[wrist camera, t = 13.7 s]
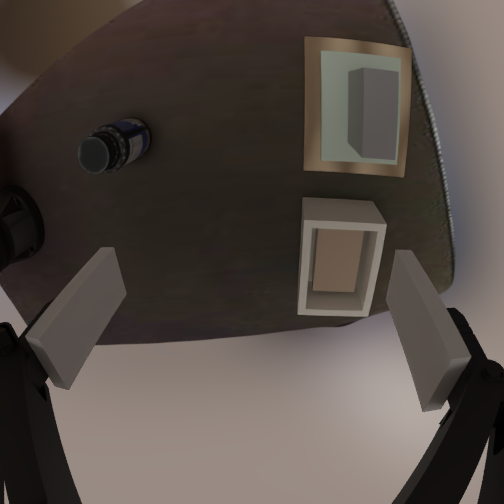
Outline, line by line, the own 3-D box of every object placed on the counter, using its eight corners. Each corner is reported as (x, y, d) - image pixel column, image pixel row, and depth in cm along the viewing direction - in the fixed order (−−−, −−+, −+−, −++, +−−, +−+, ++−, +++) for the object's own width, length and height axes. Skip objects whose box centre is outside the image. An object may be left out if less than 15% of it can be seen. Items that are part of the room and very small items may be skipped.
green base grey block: (320, 157, 41) (328, 180, 31) (319, 52, 34) (328, 40, 24) (392, 161, 39) (421, 186, 30) (396, 59, 33) (428, 53, 23)
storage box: (297, 282, 51) (297, 314, 44) (302, 197, 44) (303, 219, 37) (359, 284, 50) (367, 316, 43) (372, 200, 43) (386, 224, 36)
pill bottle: (108, 133, 43) (64, 150, 33) (136, 108, 41) (94, 119, 31) (130, 165, 45) (91, 189, 35) (160, 142, 43) (123, 161, 33)
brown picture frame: (303, 169, 42) (303, 170, 42) (304, 37, 34) (304, 36, 33) (402, 176, 41) (403, 177, 40) (409, 49, 32) (411, 48, 32)
